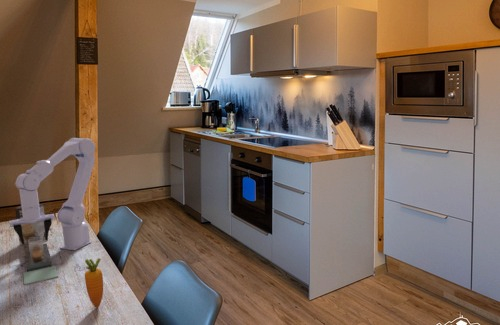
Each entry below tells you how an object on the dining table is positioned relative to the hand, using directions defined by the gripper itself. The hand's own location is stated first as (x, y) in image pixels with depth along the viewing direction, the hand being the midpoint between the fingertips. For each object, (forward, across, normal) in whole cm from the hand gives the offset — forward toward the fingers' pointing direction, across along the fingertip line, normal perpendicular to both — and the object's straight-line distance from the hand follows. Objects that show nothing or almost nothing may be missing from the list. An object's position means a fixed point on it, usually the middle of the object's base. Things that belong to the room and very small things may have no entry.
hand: (35, 241), depth 153 cm
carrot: (+7, +12, -50) cm, 52 cm away
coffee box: (+7, 0, +21) cm, 23 cm away
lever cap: (+5, 0, 0) cm, 5 cm away
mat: (+7, 0, -16) cm, 18 cm away
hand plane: (+7, 0, 0) cm, 7 cm away
